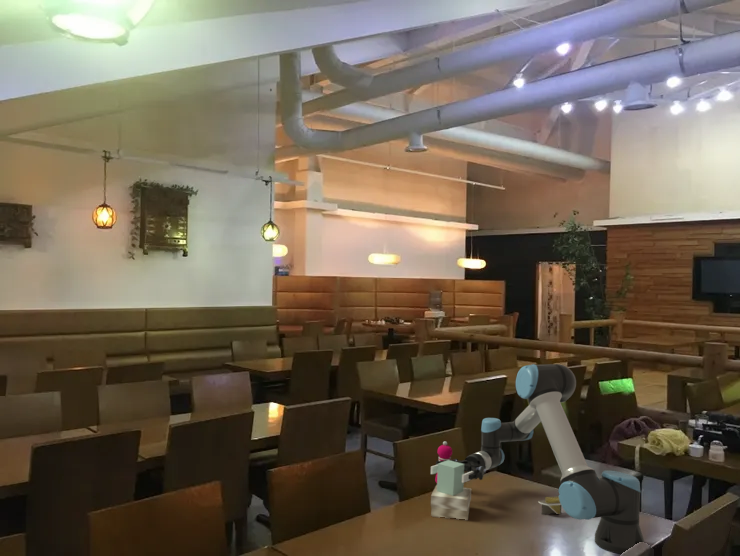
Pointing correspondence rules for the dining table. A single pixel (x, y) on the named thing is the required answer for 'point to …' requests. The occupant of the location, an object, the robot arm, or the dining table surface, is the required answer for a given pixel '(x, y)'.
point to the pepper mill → (444, 454)
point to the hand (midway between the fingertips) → (446, 474)
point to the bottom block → (449, 513)
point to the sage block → (450, 477)
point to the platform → (551, 506)
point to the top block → (451, 500)
